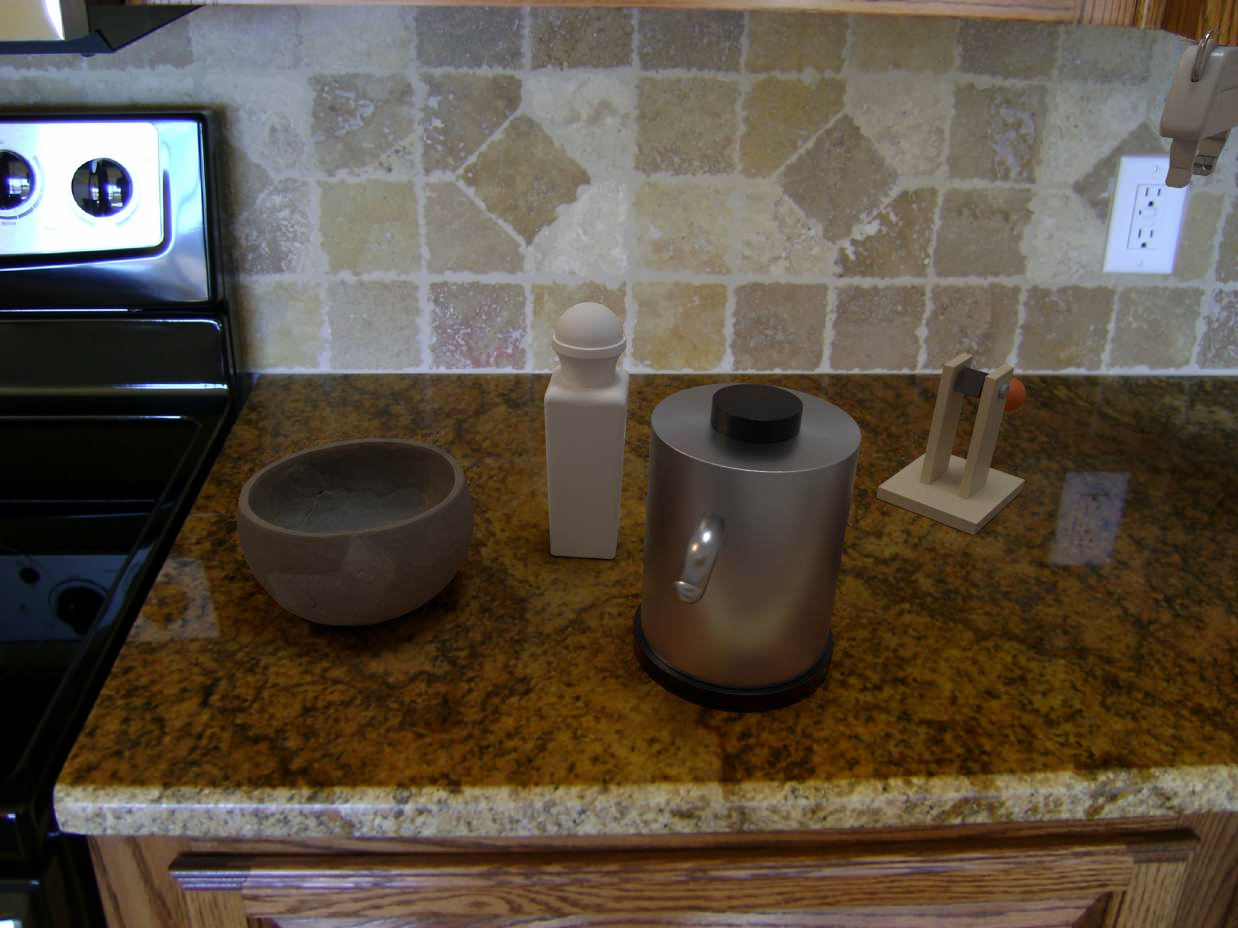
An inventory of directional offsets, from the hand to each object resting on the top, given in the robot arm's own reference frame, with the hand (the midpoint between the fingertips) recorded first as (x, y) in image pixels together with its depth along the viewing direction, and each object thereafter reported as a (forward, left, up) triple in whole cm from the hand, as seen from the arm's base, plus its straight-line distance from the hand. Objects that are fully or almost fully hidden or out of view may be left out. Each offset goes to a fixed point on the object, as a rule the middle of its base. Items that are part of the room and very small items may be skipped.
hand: (1189, 180), depth 90 cm
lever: (+3, +20, -21) cm, 29 cm away
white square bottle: (+13, +60, -29) cm, 68 cm away
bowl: (+16, +79, -29) cm, 86 cm away
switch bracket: (+2, +24, -29) cm, 38 cm away
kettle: (-5, +58, -29) cm, 65 cm away
